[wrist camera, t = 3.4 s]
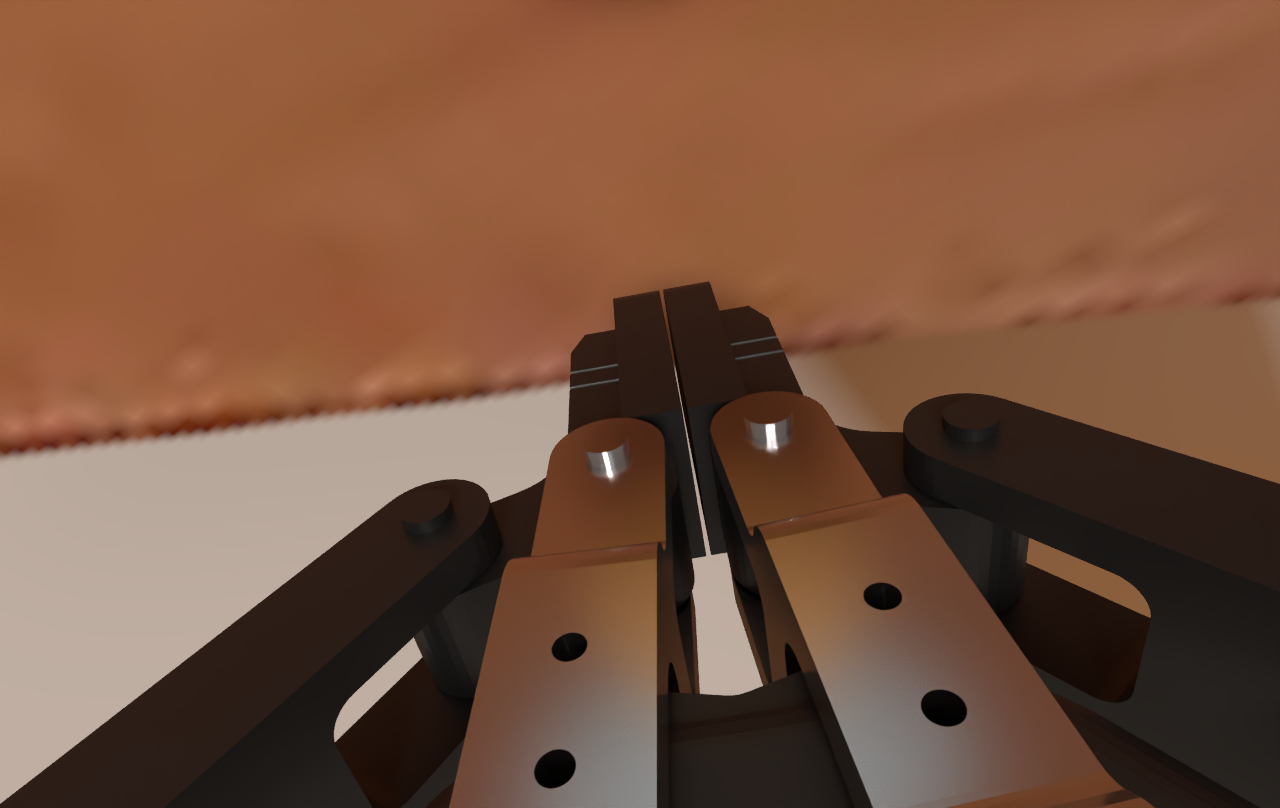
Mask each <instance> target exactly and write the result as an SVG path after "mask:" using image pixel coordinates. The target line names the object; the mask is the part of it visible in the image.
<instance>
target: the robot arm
mask: <svg viewBox="0 0 1280 808" xmlns="http://www.w3.org/2000/svg"><path fill="white" fill-rule="evenodd" d="M663 293H664V299H665V305H666V312H667V318H668V324H669V330H670V336H671V342H672V348H673V354H674V360H675V366H676V372H677V378H678V383H679V389H680V395H681V401H682V407H683V412H684V417H685V422H686V427H687V433H688V438H689V443H690V448H691V453H692V458H693V464H694V469H695V473H696V479H697V484H698V489H699V494H700V500H701V505H702V509H703V515H704V520H705V525H706V530H707V535H708V540H709V545H710V551H711V555H714V554H720V553H726V552H727V554H728V558H729V563H730V567H731V573H732V581H733V587H734V594H735V600H736V604H737V607H738V610H739V613H740V616H741V619H742V622H743V625H744V628H745V631H746V634H747V637H748V641H749V643H750V646H751V650H752V653H753V656H754V659H755V662H756V665H757V668H758V671H759V674H760V677H761V681H762V684H763V686H762V687H759V688H757V689H754V690H752V691H749V692H746V693H743V694H740V695H733V696H722V695H707V694H700V691H699V673H698V653H697V635H696V617H695V605H694V600H693V594H692V589H693V586H694V570H693V563H692V558H697V557H704V556H706V552H705V546H704V539H703V533H702V527H701V521H700V516H699V509H698V504H697V497H696V491H695V485H694V479H693V473H692V467H691V461H690V455H689V449H688V443H687V437H686V431H685V426H684V419H683V413H682V408H681V403H680V397H679V392H678V387H677V382H676V376H675V371H674V366H673V361H672V355H671V350H670V345H669V340H668V335H667V329H666V324H665V319H664V314H663V309H662V303H661V298H660V293H659V291H654V292H648V293H643V294H637V295H631V296H626V297H620V298H615V299H613V303H614V318H615V330H611V331H605V332H599V333H594V334H588V335H585V336H584V337H583V338H582V340H581V341H580V342H579V344H578V345H577V346H576V348H575V349H574V350H573V351H572V353H571V375H570V389H571V390H570V399H569V425H568V427H569V428H568V435H566V436H565V437H564V438H563V439H562V440H560V441H559V443H558V444H557V445H556V446H555V448H554V449H553V451H552V453H551V456H550V460H549V465H548V471H547V476H546V478H544V479H543V480H542V481H540V482H539V483H537V484H535V485H533V486H531V487H530V488H528V489H525V490H523V491H521V492H518V493H516V494H513V495H510V496H508V497H505V498H503V499H500V500H498V501H495V502H492V503H490V500H489V497H488V494H487V493H486V491H485V490H484V489H483V488H482V487H481V486H479V485H477V484H475V483H473V482H469V481H466V480H458V479H452V480H451V479H450V480H440V481H435V482H431V483H427V484H424V485H421V486H418V487H415V488H413V489H411V490H409V491H407V492H405V493H403V494H401V495H399V496H398V497H396V498H395V499H394V500H392V501H391V502H389V503H388V504H387V505H386V506H384V507H383V508H382V509H380V510H379V511H378V512H376V513H375V514H374V515H372V516H371V517H370V518H369V519H367V520H366V521H365V522H363V523H362V524H361V525H360V526H358V527H357V528H356V529H354V530H353V531H352V532H351V533H349V534H348V535H347V536H345V537H344V538H343V539H342V540H340V541H339V542H338V543H336V544H335V545H334V546H333V547H331V548H330V549H329V550H327V551H326V552H325V553H323V554H322V555H321V556H320V557H319V558H317V559H316V560H314V561H313V562H312V563H311V564H309V565H308V566H307V567H305V568H304V569H303V570H302V571H300V572H299V573H298V574H296V575H295V576H294V577H292V578H291V579H290V580H289V581H287V582H286V583H285V584H283V585H282V586H281V587H280V588H278V589H277V590H276V591H274V592H273V593H272V594H271V595H269V596H268V597H267V598H265V599H264V600H263V601H262V602H260V603H259V604H258V605H256V606H255V607H254V608H252V609H251V610H250V611H249V612H247V613H246V614H245V615H243V616H242V617H241V618H240V619H238V620H237V621H236V622H234V623H233V624H232V625H231V626H229V627H228V628H227V629H225V630H224V631H223V632H222V633H220V634H219V635H218V636H216V637H215V638H214V639H212V640H211V641H210V642H209V643H207V644H206V645H205V646H203V648H201V649H200V650H198V651H197V652H196V653H195V654H193V655H192V656H191V657H189V658H188V659H187V660H185V661H184V662H183V663H182V664H180V665H179V666H178V667H176V668H175V669H174V670H172V671H171V672H170V673H169V674H167V675H166V676H165V677H163V678H162V679H161V680H160V681H158V682H157V683H156V684H154V685H153V686H152V687H151V688H149V689H148V690H147V691H145V692H144V693H143V694H142V695H140V696H139V697H138V698H136V699H135V700H134V701H133V702H131V703H130V704H129V705H127V706H126V707H125V708H123V709H122V710H121V711H120V712H118V713H117V714H116V715H114V716H113V717H112V718H111V719H109V720H108V721H107V722H106V723H104V724H103V725H102V726H100V727H99V728H98V729H96V730H95V731H94V732H92V733H91V734H90V735H89V736H87V737H86V738H85V739H83V740H82V741H81V742H80V743H78V744H77V745H76V746H74V747H73V748H72V749H71V750H69V751H68V752H67V753H65V754H64V755H63V756H62V757H60V758H59V759H58V760H56V761H55V762H54V763H52V764H51V765H50V766H49V767H47V768H46V769H45V770H43V771H42V772H41V773H40V774H38V775H37V776H36V777H35V778H33V779H32V780H31V781H29V782H28V783H27V784H26V785H24V786H23V787H22V788H20V789H19V790H18V791H16V792H15V793H14V794H12V795H11V796H10V797H9V798H7V799H6V800H5V801H3V802H2V803H1V804H0V808H1280V484H1278V483H1275V482H1271V481H1268V480H1265V479H1262V478H1258V477H1255V476H1252V475H1249V474H1246V473H1242V472H1239V471H1236V470H1232V469H1229V468H1226V467H1223V466H1220V465H1216V464H1213V463H1209V462H1207V461H1203V460H1200V459H1197V458H1194V457H1190V456H1187V455H1184V454H1181V453H1177V452H1174V451H1170V450H1168V449H1164V448H1161V447H1158V446H1154V445H1151V444H1148V443H1145V442H1142V441H1139V440H1135V439H1132V438H1129V437H1126V436H1122V435H1119V434H1116V433H1112V432H1109V431H1106V430H1103V429H1100V428H1096V427H1093V426H1090V425H1087V424H1083V423H1080V422H1077V421H1074V420H1070V419H1067V418H1063V417H1061V416H1057V415H1054V414H1051V413H1048V412H1044V411H1041V410H1038V409H1035V408H1031V407H1028V406H1025V405H1022V404H1018V403H1015V402H1012V401H1008V400H1006V399H1002V398H998V397H994V396H989V395H982V394H969V393H966V394H950V395H944V396H939V397H936V398H932V399H929V400H927V401H925V402H923V403H920V404H919V405H917V406H916V407H914V408H913V409H912V410H911V411H910V412H909V413H908V415H907V416H906V418H905V420H904V424H903V433H902V432H869V431H858V430H852V429H847V428H843V427H839V426H836V425H835V424H834V422H833V421H832V419H831V417H830V416H829V414H828V413H827V411H826V410H825V409H824V407H823V406H822V405H821V404H819V403H818V402H817V401H815V400H813V399H811V398H810V397H807V396H804V395H803V393H802V391H801V389H800V386H799V384H798V382H797V380H796V378H795V375H794V373H793V371H792V369H791V367H790V364H789V362H788V360H787V358H786V356H785V353H783V349H782V347H781V344H780V342H779V340H778V338H777V337H776V333H775V331H774V329H773V327H772V325H771V322H770V320H769V318H768V317H766V316H764V315H763V314H761V313H759V312H758V311H756V310H754V309H753V308H751V307H749V306H745V307H739V308H734V309H728V310H722V311H719V309H718V306H717V303H716V300H715V297H714V294H713V291H712V288H711V285H710V282H703V283H698V284H692V285H687V286H681V287H675V288H670V289H664V290H663ZM1029 538H1031V539H1034V540H1036V541H1038V542H1041V543H1043V544H1045V545H1048V546H1050V547H1053V548H1055V549H1057V550H1060V551H1062V552H1064V553H1067V554H1069V555H1071V556H1074V557H1076V558H1079V559H1081V560H1083V561H1086V562H1088V563H1090V564H1093V565H1095V566H1097V567H1100V568H1102V569H1105V570H1107V571H1109V572H1112V573H1114V574H1116V575H1118V576H1120V577H1122V578H1123V579H1125V580H1127V581H1128V582H1129V583H1131V584H1132V585H1133V586H1134V587H1135V588H1137V590H1138V591H1139V592H1140V593H1141V594H1142V595H1143V597H1144V598H1145V600H1146V601H1147V603H1148V605H1149V608H1150V611H1151V618H1149V617H1146V616H1144V615H1142V614H1140V613H1137V612H1135V611H1133V610H1131V609H1128V608H1126V607H1124V606H1122V605H1119V604H1117V603H1115V602H1113V601H1111V600H1108V599H1106V598H1104V597H1102V596H1099V595H1097V594H1095V593H1093V592H1091V591H1088V590H1086V589H1084V588H1081V587H1079V586H1077V585H1075V584H1072V583H1070V582H1068V581H1066V580H1064V579H1061V578H1059V577H1057V576H1054V575H1052V574H1050V573H1048V572H1046V571H1044V570H1041V569H1039V568H1037V567H1035V566H1032V565H1030V564H1028V563H1026V560H1027V552H1028V544H1029ZM413 637H414V639H415V641H416V643H417V645H418V648H419V650H420V652H421V654H422V656H423V657H422V658H421V659H420V661H418V663H416V664H415V665H414V666H413V667H412V668H411V669H410V670H409V671H408V672H407V673H406V674H405V675H404V676H403V677H402V678H401V679H400V680H399V681H398V682H397V683H396V684H395V685H394V686H393V687H392V688H391V689H390V690H389V691H388V692H386V694H384V695H383V696H382V697H381V698H380V699H379V700H378V701H377V702H376V703H375V704H374V705H373V706H372V707H371V708H370V709H369V710H368V711H367V712H366V713H365V714H364V715H363V716H362V717H361V718H360V719H359V720H358V721H357V722H356V723H355V724H354V725H353V726H352V727H351V728H349V730H347V731H346V732H345V733H344V734H343V735H342V736H341V737H340V738H339V739H338V740H337V741H336V742H334V727H335V723H336V720H337V717H338V715H339V713H340V711H341V709H342V707H343V706H344V704H345V703H346V702H347V700H348V699H349V698H350V697H351V696H352V695H353V694H354V693H355V692H356V691H357V690H358V689H359V688H360V687H361V686H362V685H363V684H364V683H365V682H366V681H368V680H369V679H370V678H371V677H372V676H373V675H374V674H375V673H376V672H377V671H378V670H379V669H380V668H381V667H382V666H383V665H385V664H386V663H387V662H388V661H389V660H390V659H391V658H392V657H393V656H394V655H395V654H396V653H397V652H398V651H399V650H400V649H401V648H403V647H404V645H406V644H407V643H408V642H409V641H410V640H411V639H412V638H413Z"/></svg>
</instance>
